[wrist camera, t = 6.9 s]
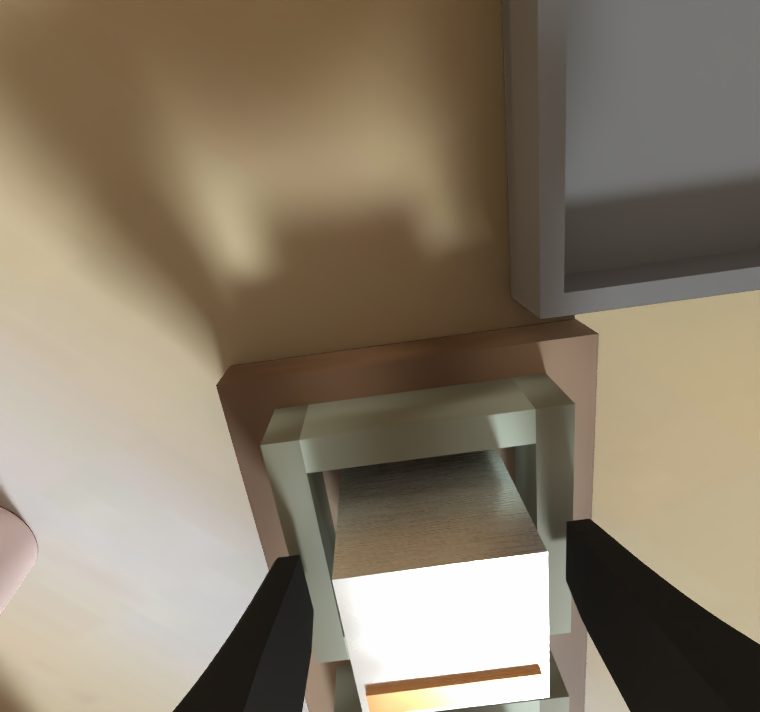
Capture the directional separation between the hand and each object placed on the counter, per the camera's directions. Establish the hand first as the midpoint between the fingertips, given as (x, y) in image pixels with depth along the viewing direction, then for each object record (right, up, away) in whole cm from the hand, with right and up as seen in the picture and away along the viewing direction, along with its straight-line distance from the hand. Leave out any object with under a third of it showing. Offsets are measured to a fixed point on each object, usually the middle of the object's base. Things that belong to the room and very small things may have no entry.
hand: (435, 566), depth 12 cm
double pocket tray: (+1, -4, +6) cm, 7 cm away
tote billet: (0, +1, +2) cm, 3 cm away
